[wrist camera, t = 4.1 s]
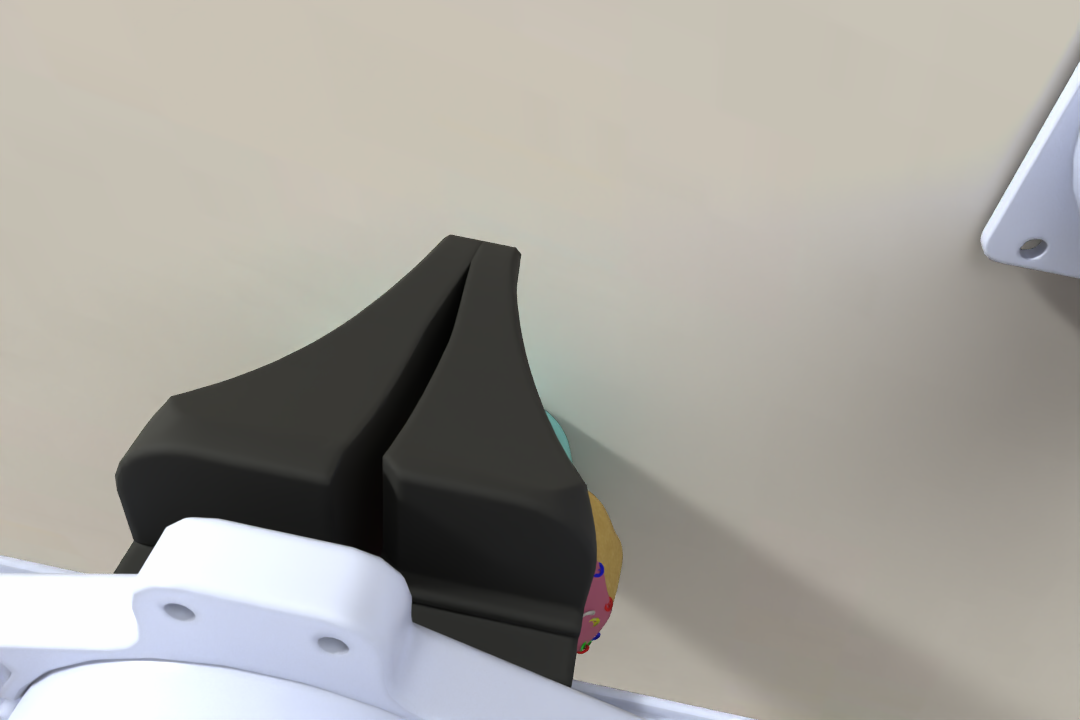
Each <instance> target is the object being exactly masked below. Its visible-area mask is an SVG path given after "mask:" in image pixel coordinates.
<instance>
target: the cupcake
mask: <svg viewBox="0 0 1080 720" xmlns="http://www.w3.org/2000/svg"><path fill="white" fill-rule="evenodd" d="M545 412H546V414H547V416H548V418H549V421H550V423H551V425H552V427H553V429H554V431H555V434H556V436H557V438H558V440H559V441H560V443H561V445H562V447H563V449H564V450H565V452H566V454H567V456H568V458H569V459H570V461H571V462H572V458H571V452H570V447H569V443H568V440H567V437H566V435H565V433H564V431H563V430H562V428H561V426H560V425H559V424H558V422H557V421H556V420H555V419H554V418H553V417H552V416H551V415H550V414H549V413H548V412H547V411H546V410H545ZM588 494H589V498H590V503H591V507H592V513H593V518H594V524H595V531H596V541H597V564H596V570H595V574H594V577H593V581H592V584H591V587H590V591H589V594H588V597H587V601H586V604H585V607H584V614H583V621H582V628H581V633H580V636H579V638H578V645H577V652H576V653H578V654H583V653H585V652H587V651H588V650H589V645H590V644H591V642H592V641H593V640H596V639H598V638H599V637H600V633H599V631H600V630H601V629H602V627H603V626H604V625H605V623H606V622H607V620H608V619H609V617H610V614H611V611H612V607H613V602H614V599H615V595H616V591H617V588H618V583H619V578H620V573H621V567H622V560H623V553H622V546H621V542H620V540H619V538H618V536H617V535H616V533H615V531H614V529H613V526H612V523H611V521H610V518H609V516H608V514H607V512H606V510H605V508H604V506H603V505H602V503H601V502H600V501H599V500H598V499H597V498H596V497H595V496H594V495H593V494H592V493H591V492H589V491H588ZM595 636H596V637H595ZM585 647H586V648H585ZM583 649H585V650H584V651H582V650H583Z"/></svg>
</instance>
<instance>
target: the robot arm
mask: <svg viewBox="0 0 1080 720" xmlns="http://www.w3.org/2000/svg"><path fill="white" fill-rule="evenodd" d="M1032 239H1041V240H1042V241H1041V242H1040V243H1039V244H1038V245H1037V246H1036V247H1034V248H1031V249H1020V248H1021V246H1022V245H1024V244H1025V243H1026V242H1028V241H1030V240H1032ZM980 240H981V245H982V248H983V251H984V253H985V255H986V256H987V257H988V258H989V259H990V260H992V261H995V262H998V263H1002V264H1007V265H1012V266H1017V267H1022V268H1028V269H1033V270H1038V271H1043V272H1048V273H1053V274H1058V275H1063V276H1068V277H1073V278H1078V279H1080V62H1079V64H1078V66H1077V67H1076V69H1075V71H1074V73H1073V74H1072V76H1071V78H1070V80H1069V81H1068V83H1067V85H1066V87H1065V88H1064V90H1063V92H1062V94H1061V95H1060V97H1059V99H1058V101H1057V102H1056V104H1055V106H1054V108H1053V109H1052V111H1051V113H1050V115H1049V116H1048V118H1047V120H1046V122H1045V123H1044V125H1043V127H1042V129H1041V130H1040V132H1039V134H1038V136H1037V137H1036V139H1035V141H1034V143H1033V144H1032V146H1031V148H1030V150H1029V151H1028V153H1027V155H1026V157H1025V158H1024V160H1023V162H1022V164H1021V165H1020V167H1019V169H1018V171H1017V172H1016V174H1015V176H1014V178H1013V179H1012V181H1011V183H1010V185H1009V186H1008V188H1007V190H1006V192H1005V193H1004V195H1003V197H1002V199H1001V200H1000V202H999V204H998V206H997V207H996V209H995V211H994V213H993V214H992V216H991V218H990V220H989V221H988V223H987V225H986V226H985V228H984V230H983V232H982V235H981V238H980ZM520 259H521V254H520V252H519V251H518V250H517V248H515V247H510V246H505V245H500V244H495V243H490V242H485V241H480V240H475V239H470V238H465V237H460V236H455V235H449V236H447V237H445V238H444V239H443V240H442V241H441V242H440V243H439V244H438V245H437V246H436V247H435V248H434V249H433V250H432V251H431V252H430V253H429V254H428V255H427V256H426V257H425V258H424V259H423V260H422V261H421V262H420V263H419V264H418V265H417V266H416V267H414V268H413V269H412V270H411V271H410V272H409V273H408V274H407V275H406V276H404V277H403V278H402V279H401V280H400V281H399V282H398V283H396V284H395V285H394V286H393V287H392V288H391V289H389V290H388V291H387V292H386V293H385V294H383V295H382V296H381V297H380V298H378V299H377V300H376V301H374V302H373V303H372V304H370V305H369V306H368V307H366V308H365V309H364V310H362V311H361V312H360V313H358V314H357V315H356V316H354V317H353V318H352V319H350V320H349V321H347V322H346V323H344V324H343V325H341V326H340V327H338V328H337V329H335V330H333V331H332V332H330V333H328V334H327V335H325V336H323V337H322V338H320V339H318V340H317V341H315V342H313V343H311V344H309V345H308V346H306V347H304V348H302V349H300V350H298V351H296V352H294V353H292V354H290V355H287V356H285V357H283V358H281V359H279V360H277V361H275V362H273V363H270V364H268V365H266V366H263V367H261V368H258V369H256V370H253V371H251V372H248V373H245V374H243V375H240V376H237V377H235V378H232V379H229V380H226V381H223V382H220V383H217V384H213V385H210V386H206V387H203V388H200V389H196V390H193V391H189V392H186V393H182V394H179V395H175V396H171V397H170V398H169V399H168V401H167V402H166V403H165V404H164V405H163V406H162V407H161V408H160V409H159V410H158V412H157V413H156V414H155V415H154V416H153V417H152V418H151V420H150V421H149V422H148V423H147V425H146V426H145V427H144V429H143V430H142V431H141V433H140V434H139V436H138V437H137V438H136V440H135V441H134V443H133V444H132V446H131V447H130V448H129V450H128V451H127V453H126V454H125V456H124V457H123V458H122V460H121V461H120V463H119V465H118V468H117V471H116V474H115V479H116V486H117V491H118V494H119V497H120V500H121V503H122V506H123V509H124V512H125V515H126V518H127V521H128V524H129V527H130V530H131V533H132V536H133V539H134V542H133V543H132V545H131V546H130V548H129V550H128V551H127V553H126V554H125V556H124V557H123V559H122V561H121V562H120V564H119V565H118V567H117V569H116V570H115V572H114V573H113V574H86V573H81V572H77V571H72V570H67V569H63V568H58V567H54V566H49V565H44V564H40V563H35V562H31V561H26V560H21V559H17V558H12V557H8V556H3V555H0V720H757V719H753V718H748V717H743V716H739V715H734V714H730V713H725V712H721V711H716V710H711V709H707V708H702V707H698V706H693V705H688V704H684V703H679V702H675V701H670V700H665V699H661V698H656V697H652V696H647V695H642V694H638V693H633V692H629V691H624V690H619V689H615V688H610V687H606V686H601V685H596V684H592V683H587V682H583V681H578V680H573V673H574V666H575V659H576V652H577V645H578V638H579V636H580V633H581V628H582V621H583V614H584V607H585V604H586V601H587V597H588V594H589V591H590V587H591V584H592V581H593V577H594V574H595V570H596V564H597V541H596V531H595V524H594V518H593V513H592V507H591V503H590V498H589V494H588V489H587V485H586V484H585V482H584V481H583V479H582V478H581V476H580V475H579V473H578V472H577V470H576V469H575V467H574V466H573V464H572V462H571V461H570V459H569V458H568V456H567V454H566V452H565V450H564V449H563V447H562V445H561V443H560V441H559V440H558V438H557V436H556V434H555V431H554V429H553V427H552V425H551V423H550V421H549V418H548V416H547V414H546V412H545V410H544V408H543V405H542V403H541V400H540V397H539V395H538V392H537V389H536V386H535V383H534V380H533V377H532V374H531V371H530V367H529V364H528V360H527V356H526V352H525V347H524V343H523V338H522V333H521V327H520V320H519V312H518V304H517V281H518V274H519V267H520Z"/></svg>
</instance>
